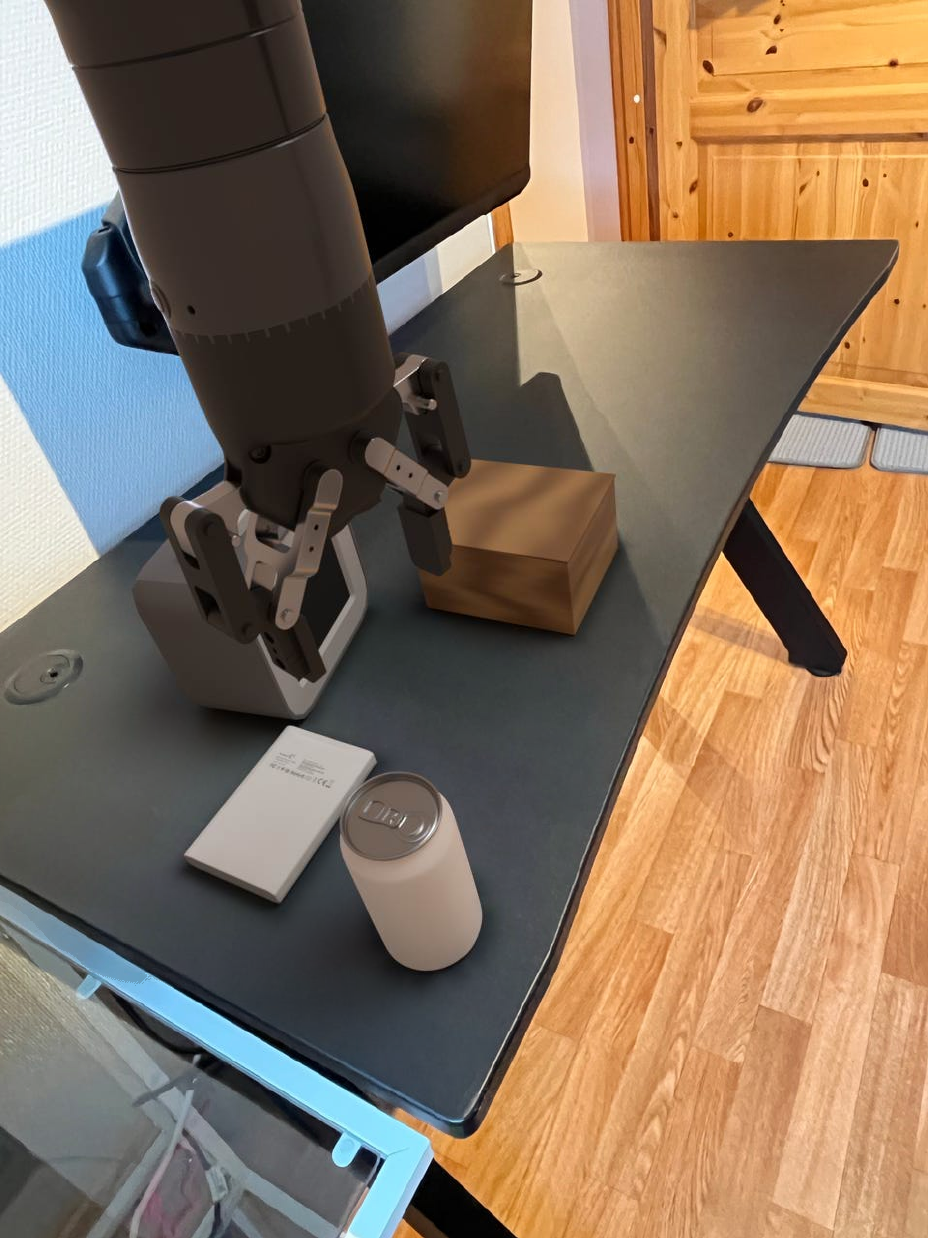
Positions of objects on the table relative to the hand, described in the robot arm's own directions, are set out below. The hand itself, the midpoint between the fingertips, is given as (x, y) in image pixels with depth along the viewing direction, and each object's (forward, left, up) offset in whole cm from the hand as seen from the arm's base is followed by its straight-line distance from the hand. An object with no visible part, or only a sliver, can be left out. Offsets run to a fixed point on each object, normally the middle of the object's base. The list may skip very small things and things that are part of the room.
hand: (373, 617), depth 40 cm
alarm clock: (+24, -14, -23) cm, 36 cm away
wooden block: (+7, -29, -23) cm, 38 cm away
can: (0, +4, -23) cm, 23 cm away
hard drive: (+14, 0, -23) cm, 27 cm away
